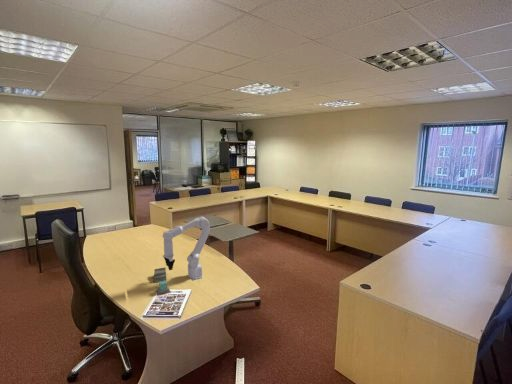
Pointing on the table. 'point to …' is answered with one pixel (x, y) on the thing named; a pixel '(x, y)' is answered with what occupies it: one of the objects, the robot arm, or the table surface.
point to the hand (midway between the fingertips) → (169, 267)
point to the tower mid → (162, 290)
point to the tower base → (163, 293)
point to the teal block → (163, 285)
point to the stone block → (159, 274)
